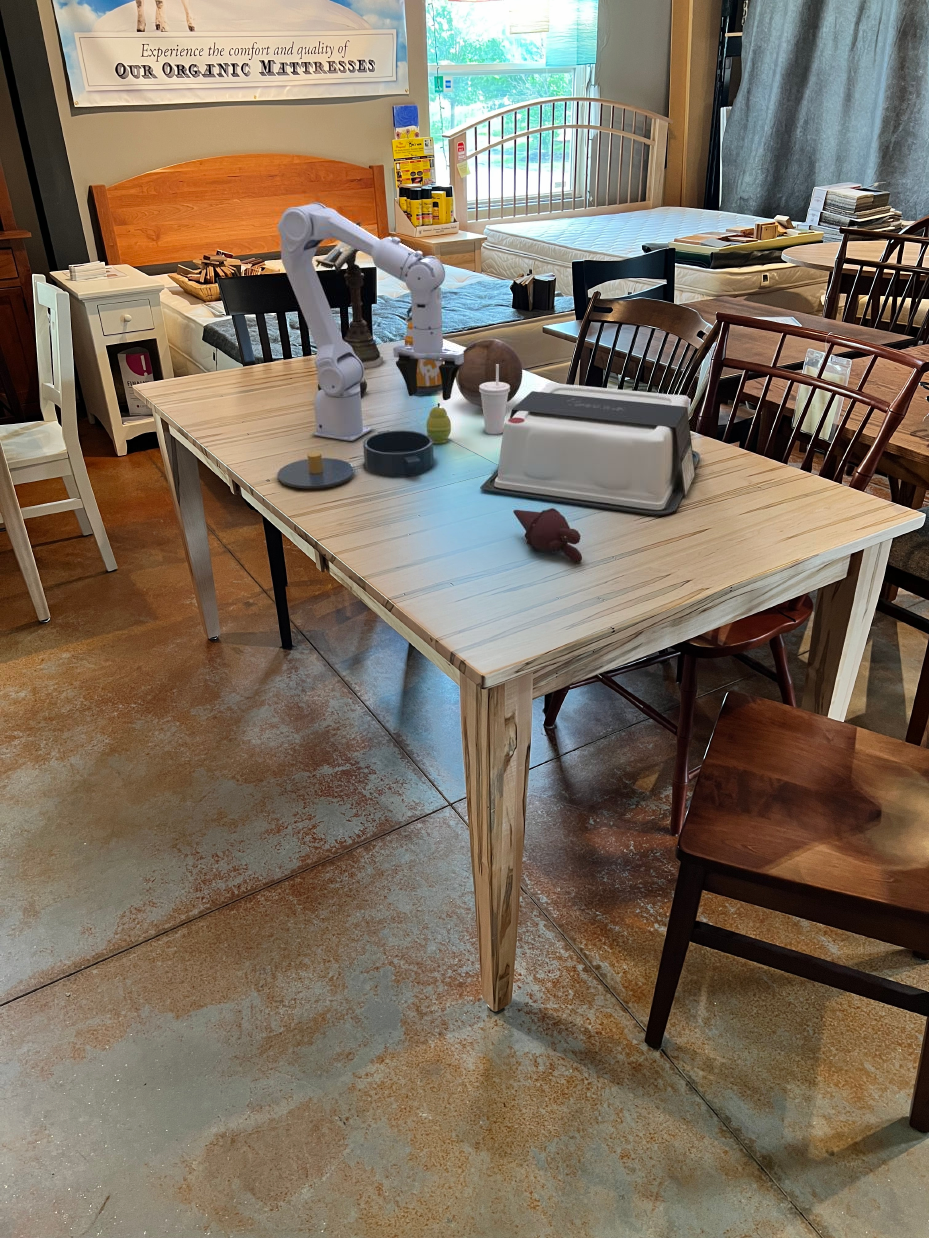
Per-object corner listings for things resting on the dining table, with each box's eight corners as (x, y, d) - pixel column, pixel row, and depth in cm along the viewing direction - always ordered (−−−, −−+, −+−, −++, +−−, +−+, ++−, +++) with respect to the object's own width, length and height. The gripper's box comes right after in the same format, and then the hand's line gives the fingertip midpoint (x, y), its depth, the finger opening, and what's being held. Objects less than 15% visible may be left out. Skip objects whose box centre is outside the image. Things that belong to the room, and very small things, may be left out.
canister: (416, 398, 204) (412, 310, 194) (397, 387, 212) (393, 301, 202) (450, 393, 208) (448, 306, 197) (430, 382, 216) (427, 298, 206)
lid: (287, 496, 154) (284, 472, 152) (271, 470, 166) (268, 447, 163) (364, 484, 159) (362, 460, 157) (343, 459, 170) (341, 437, 168)
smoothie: (506, 437, 180) (507, 369, 173) (476, 435, 181) (476, 368, 174) (511, 427, 185) (512, 361, 178) (482, 425, 187) (482, 360, 179)
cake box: (477, 492, 155) (477, 424, 148) (533, 434, 181) (535, 374, 175) (674, 520, 144) (683, 448, 137) (704, 454, 170) (712, 391, 163)
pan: (381, 486, 158) (379, 463, 156) (352, 453, 173) (351, 431, 170) (448, 475, 162) (448, 452, 160) (415, 444, 177) (414, 423, 175)
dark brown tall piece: (334, 375, 222) (320, 226, 204) (315, 364, 232) (300, 221, 214) (392, 366, 229) (384, 221, 211) (371, 355, 239) (362, 216, 221)
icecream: (493, 504, 134) (559, 544, 125) (529, 482, 137) (596, 520, 128) (499, 539, 139) (563, 580, 130) (533, 516, 142) (598, 555, 132)
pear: (422, 443, 178) (421, 404, 173) (433, 435, 181) (432, 398, 177) (444, 446, 176) (443, 407, 172) (455, 438, 180) (454, 400, 175)
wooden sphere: (525, 398, 203) (526, 332, 195) (517, 418, 190) (518, 349, 183) (462, 396, 205) (461, 331, 198) (450, 415, 193) (448, 347, 185)
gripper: (383, 327, 165) (388, 398, 172) (451, 334, 160) (453, 406, 167) (402, 320, 171) (405, 388, 178) (468, 326, 165) (469, 396, 172)
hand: (429, 396), depth 172 cm, fingers open, 7 cm apart
